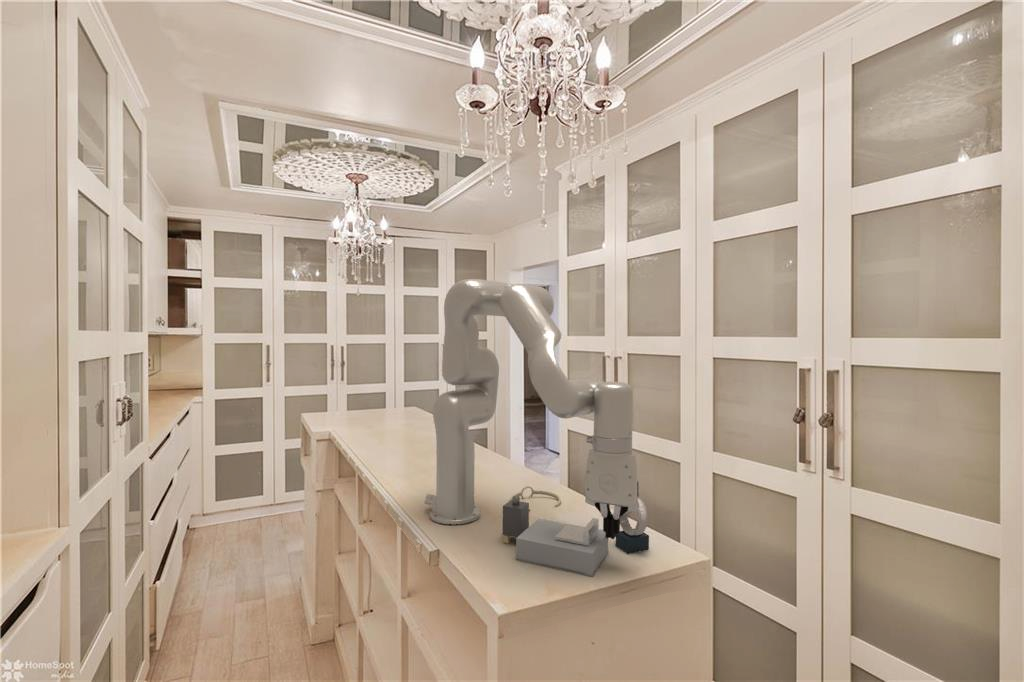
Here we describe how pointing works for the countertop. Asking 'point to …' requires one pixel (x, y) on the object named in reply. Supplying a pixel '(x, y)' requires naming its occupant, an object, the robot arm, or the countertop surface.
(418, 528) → the countertop surface
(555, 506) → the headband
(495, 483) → the countertop surface
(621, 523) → the watch
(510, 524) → the plug
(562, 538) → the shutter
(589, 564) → the socket box
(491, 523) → the countertop surface
